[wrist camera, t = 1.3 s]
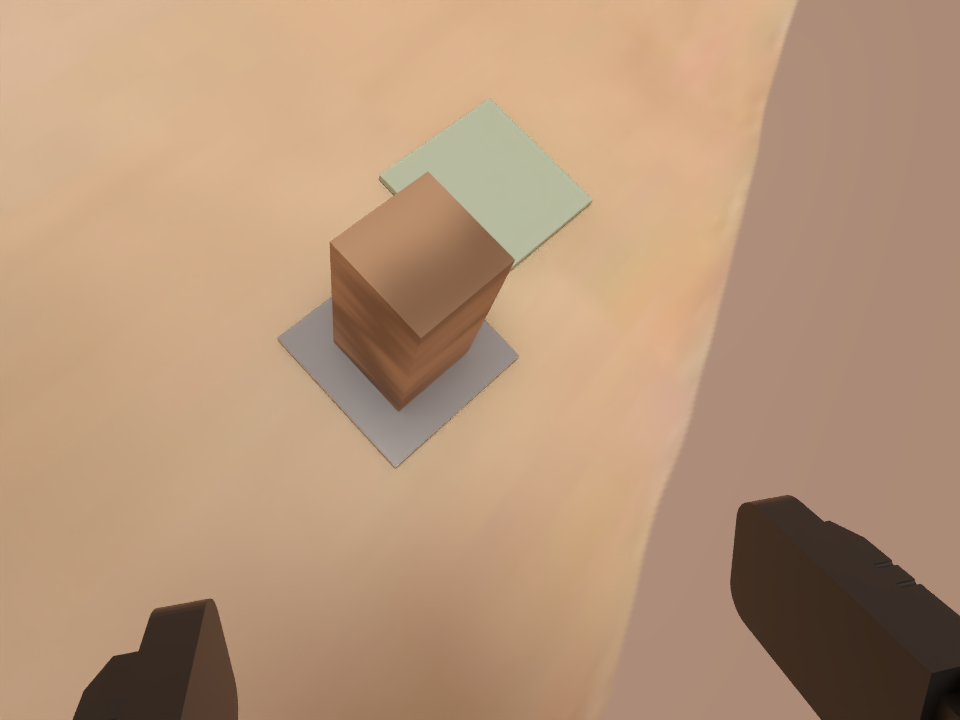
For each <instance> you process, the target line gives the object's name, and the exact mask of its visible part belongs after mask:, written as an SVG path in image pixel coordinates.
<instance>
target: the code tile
mask: <svg viewBox="0 0 960 720" xmlns="http://www.w3.org/2000/svg"><path fill="white" fill-rule="evenodd" d="M278 341H279V342H280V343H281V344H282V345H283V347H284V348H285V349H286V350H287V351H288V352H289V353H290V354H291V355H292V356H293V357H294V359H295V360H296V361H297V362H298V363H299V364H300V365H301V366H302V367H303V368H304V369H305V371H306V372H307V373H308V374H309V375H310V376H311V377H312V378H313V379H314V380H315V382H316V383H317V384H318V385H319V386H320V387H321V388H322V389H323V390H324V391H325V392H326V394H327V395H328V396H329V397H330V398H331V399H332V400H333V401H334V402H335V403H336V404H337V406H338V407H339V408H340V409H341V410H342V411H343V412H344V413H345V414H346V415H347V416H348V418H349V419H350V420H351V421H352V422H353V423H354V424H355V425H356V426H357V427H358V429H359V430H360V431H361V432H362V433H363V434H364V435H365V436H366V437H367V438H368V439H369V441H370V442H371V443H372V444H373V445H374V446H375V447H376V448H377V449H378V450H379V451H380V453H381V454H382V455H383V456H384V457H385V458H386V459H387V460H388V461H389V462H390V463H391V465H392V466H393V467H394V468H396V467H397V466H399V465H400V464H401V463H402V462H403V461H404V460H405V459H406V458H407V457H408V456H410V455H411V454H412V453H413V452H414V451H415V450H416V449H417V448H418V447H420V446H421V445H422V444H423V443H424V442H425V441H426V440H427V439H428V438H430V437H431V436H432V435H433V434H434V433H435V432H436V431H437V430H438V429H439V428H441V427H442V426H443V425H444V424H445V423H446V422H447V421H448V420H449V419H451V418H452V417H453V416H454V415H455V414H456V413H457V412H458V411H459V410H461V409H462V408H463V407H464V406H465V405H466V404H467V403H468V402H469V401H470V400H472V399H473V398H474V397H475V396H476V395H477V394H478V393H479V392H480V391H482V390H483V389H484V388H485V387H486V386H487V385H488V384H489V383H490V382H492V381H493V380H494V379H495V378H496V377H497V376H498V375H499V374H500V373H501V372H503V371H504V370H505V369H506V368H507V367H508V366H509V365H510V364H511V363H513V362H514V361H515V360H516V359H517V358H518V357H519V355H518V354H517V353H516V352H515V351H514V350H513V349H512V348H511V347H510V346H509V345H508V344H507V343H506V341H505V340H504V339H503V338H502V337H501V336H500V335H499V334H498V333H497V332H496V331H495V330H494V329H493V328H492V327H491V326H490V325H489V324H488V323H487V322H486V321H485V320H484V322H483V324H482V326H481V327H480V329H479V331H478V333H477V335H476V337H475V339H474V341H473V343H472V345H471V347H470V349H469V351H468V352H467V353H466V354H465V355H464V356H463V357H461V358H460V359H459V360H458V361H457V362H456V363H455V364H453V365H452V366H451V367H450V368H449V369H448V370H447V371H445V372H444V373H443V374H442V375H441V376H440V377H438V378H437V379H436V380H435V381H434V382H433V383H432V384H430V385H429V386H428V387H427V388H426V389H425V390H423V391H422V392H421V393H420V394H419V395H418V396H417V397H415V398H414V399H413V400H412V401H411V402H410V403H408V404H407V405H406V406H405V407H404V408H403V409H402V410H400V411H399V412H398V411H397V410H396V409H395V408H394V407H393V406H392V405H391V403H390V402H389V401H388V400H387V399H386V398H385V397H384V396H383V395H382V394H381V393H380V392H379V390H378V389H377V388H376V387H375V386H374V385H373V384H372V383H371V382H370V381H369V380H368V379H367V378H366V376H365V375H364V374H363V373H362V372H361V371H360V370H359V369H358V368H357V367H356V366H355V365H354V364H353V362H352V361H351V360H350V359H349V358H348V357H347V356H346V355H345V354H344V353H343V352H342V351H341V349H340V348H339V347H338V346H337V345H336V344H335V343H334V338H333V313H332V297H331V298H330V299H328V300H327V301H326V302H324V303H323V304H322V305H320V306H319V307H318V308H316V309H315V310H314V311H312V312H311V313H310V314H308V315H307V316H306V317H304V318H303V319H302V320H301V321H299V322H298V323H297V324H295V325H294V326H293V327H291V328H290V329H289V330H287V331H286V332H285V333H283V334H282V335H281V336H279V337H278Z"/></svg>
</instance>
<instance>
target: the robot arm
mask: <svg viewBox="0 0 960 720" xmlns="http://www.w3.org/2000/svg"><path fill="white" fill-rule="evenodd" d="M730 585H731V593H732V598H733V601H734V604H735V607H736V609H737V612H738V614H739V616H740V617H741V619H742V621H743V622H744V623H745V625H746V626H747V627H748V628H749V630H750V631H751V632H752V633H753V635H754V636H755V637H756V638H757V640H758V641H759V642H760V643H761V645H762V646H763V647H764V649H765V650H766V651H767V652H768V653H769V655H770V656H771V657H772V659H773V660H774V661H775V662H776V664H777V665H778V666H779V667H780V669H781V670H782V671H783V672H784V674H785V675H786V676H787V677H788V679H789V680H790V681H791V682H792V684H793V685H794V686H795V687H796V689H797V690H798V691H799V692H800V693H801V695H802V696H803V697H804V699H805V700H806V701H807V702H808V704H809V705H810V706H811V707H812V709H813V710H814V711H815V712H816V714H817V715H818V716H819V717H820V719H821V720H960V616H959V615H958V614H957V613H955V612H954V611H953V610H952V609H951V608H949V607H948V606H947V605H946V604H944V603H943V602H942V601H941V600H940V599H938V598H937V597H936V596H935V595H934V594H932V593H931V592H930V591H929V590H927V589H926V588H925V587H924V586H923V585H921V584H918V585H917V584H916V583H915V579H914V578H913V577H912V576H910V575H909V574H908V573H907V572H906V571H904V570H903V569H902V568H900V567H899V566H898V565H893V564H892V560H891V559H890V558H888V557H887V556H886V555H885V554H884V553H882V552H881V551H880V550H879V549H877V548H876V547H875V546H874V545H873V544H871V543H870V542H869V541H868V540H867V539H865V538H864V537H862V536H860V535H858V534H855V533H854V532H851V531H849V530H847V529H845V528H843V527H841V526H839V525H837V524H835V523H833V522H831V521H826V522H824V521H823V520H821V519H820V518H819V517H818V516H817V515H815V514H814V513H813V512H812V511H811V510H809V508H807V507H806V506H805V505H804V504H803V503H801V502H800V501H799V500H798V499H796V498H795V497H793V496H789V495H785V496H779V497H774V498H768V499H764V500H758V501H752V502H747V503H744V504H742V505H741V506H740V508H739V509H738V513H737V519H736V530H735V539H734V550H733V559H732V569H731V580H730ZM73 720H238V699H237V689H236V683H235V678H234V674H233V670H232V666H231V662H230V658H229V654H228V650H227V646H226V642H225V638H224V634H223V630H222V626H221V622H220V618H219V614H218V610H217V607H216V604H215V602H214V601H213V599H205V600H200V601H194V602H189V603H183V604H178V605H172V606H167V607H161V608H156V609H154V610H153V611H152V613H151V615H150V618H149V621H148V624H147V627H146V630H145V633H144V636H143V639H142V643H141V646H140V649H139V651H138V652H133V653H127V654H122V655H117V656H113V657H112V658H111V659H110V661H109V662H108V663H107V664H106V665H105V666H104V668H103V669H102V670H101V671H100V672H99V674H98V675H97V676H96V677H95V678H94V679H93V681H92V682H91V683H90V684H89V685H88V687H87V688H86V689H85V690H84V692H83V694H82V697H81V700H80V702H79V705H78V707H77V710H76V712H75V715H74V717H73Z"/></svg>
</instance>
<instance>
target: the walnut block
mask: <svg viewBox="0 0 960 720" xmlns="http://www.w3.org/2000/svg"><path fill="white" fill-rule="evenodd" d="M330 261H331V287H332V313H333V338H334V343H335V344H336V345H337V346H338V347H339V348H340V349H341V351H342V352H343V353H344V354H345V355H346V356H347V357H348V358H349V359H350V360H351V361H352V362H353V364H354V365H355V366H356V367H357V368H358V369H359V370H360V371H361V372H362V373H363V374H364V375H365V376H366V378H367V379H368V380H369V381H370V382H371V383H372V384H373V385H374V386H375V387H376V388H377V389H378V390H379V392H380V393H381V394H382V395H383V396H384V397H385V398H386V399H387V400H388V401H389V402H390V403H391V405H392V406H393V407H394V408H395V409H396V410H397V411H398V412H399V411H400V410H402V409H403V408H404V407H405V406H406V405H407V404H408V403H410V402H411V401H412V400H413V399H414V398H415V397H417V396H418V395H419V394H420V393H421V392H422V391H423V390H425V389H426V388H427V387H428V386H429V385H430V384H432V383H433V382H434V381H435V380H436V379H437V378H438V377H440V376H441V375H442V374H443V373H444V372H445V371H447V370H448V369H449V368H450V367H451V366H452V365H453V364H455V363H456V362H457V361H458V360H459V359H460V358H461V357H463V356H464V355H465V354H466V353H467V352H468V351H469V349H470V347H471V345H472V343H473V341H474V339H475V337H476V335H477V333H478V331H479V329H480V327H481V326H482V324H483V322H484V320H485V318H486V316H487V314H488V312H489V310H490V308H491V306H492V304H493V302H494V300H495V298H496V296H497V294H498V293H499V291H500V289H501V287H502V285H503V283H504V281H505V279H506V277H507V275H508V273H509V271H510V269H511V267H512V265H513V263H514V261H515V259H514V258H513V257H512V256H511V255H510V254H509V253H508V252H507V251H506V250H505V249H504V248H503V247H502V246H501V245H500V244H499V243H498V242H497V241H496V240H495V239H494V238H493V237H492V236H491V235H490V234H489V233H488V232H487V231H486V230H485V229H484V228H483V227H482V226H481V225H480V224H479V223H478V222H477V221H476V219H475V218H474V217H473V216H472V215H471V214H470V213H469V212H468V211H467V210H466V209H465V208H464V207H463V206H462V205H461V204H460V203H459V202H458V201H457V200H456V199H455V198H454V197H453V196H452V195H451V194H450V193H449V192H448V191H447V190H446V189H445V188H444V187H443V186H442V185H441V184H440V183H439V182H438V181H437V180H436V179H435V178H434V177H433V176H432V175H431V174H430V173H429V172H426V173H425V174H423V175H422V176H421V177H419V178H418V179H416V180H415V181H414V182H412V183H411V184H409V185H408V186H407V187H405V188H404V189H403V190H401V191H400V192H398V193H397V194H396V195H394V196H393V197H391V198H390V199H389V200H387V201H386V202H384V203H383V204H382V205H380V206H379V207H378V208H376V209H375V210H373V211H372V212H371V213H369V214H368V215H366V216H365V217H364V218H362V219H361V220H359V221H358V222H357V223H355V224H354V225H352V226H351V227H350V228H348V229H347V230H346V231H344V232H343V233H341V234H340V235H339V236H337V237H336V238H334V239H333V240H332V241H330Z"/></svg>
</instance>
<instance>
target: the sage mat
mask: <svg viewBox="0 0 960 720" xmlns="http://www.w3.org/2000/svg"><path fill="white" fill-rule="evenodd" d="M426 172H429V173H430V174H431V175H432V176H433V177H434V178H435V179H436V180H437V181H438V182H439V183H440V184H441V185H442V186H443V187H444V188H445V189H446V190H447V191H448V192H449V193H450V194H451V195H452V196H453V197H454V198H455V199H456V200H457V201H458V202H459V203H460V204H461V205H462V206H463V207H464V208H465V209H466V210H467V211H468V212H469V213H470V214H471V215H472V216H473V217H474V218H475V219H476V221H477V222H478V223H479V224H480V225H481V226H482V227H483V228H484V229H485V230H486V231H487V232H488V233H489V234H490V235H491V236H492V237H493V238H494V239H495V240H496V241H497V242H498V243H499V244H500V245H501V246H502V247H503V248H504V249H505V250H506V251H507V252H508V253H509V254H510V255H511V256H512V257H513V258H514V259H515V261H514V263H513V265H512V267H511V269H510V270H512V269H513V268H514V267H515V266H516V265H518V264H519V263H520V262H521V261H522V260H524V259H525V258H526V257H527V256H528V255H530V254H531V253H532V252H533V251H534V250H536V249H537V248H538V247H539V246H540V245H542V244H543V243H544V242H545V241H546V240H548V239H549V238H550V237H551V236H552V235H554V234H555V233H556V232H557V231H558V230H560V229H561V228H562V227H563V226H564V225H565V224H567V223H568V222H569V221H570V220H571V219H573V218H574V217H575V216H576V215H577V214H579V213H580V212H581V211H582V210H583V209H585V208H586V207H587V206H588V205H589V204H590V203H591V202H592V200H593V199H592V198H591V197H590V196H589V195H588V194H587V193H586V192H585V191H584V190H583V189H582V188H581V187H580V186H579V185H578V184H577V183H576V182H575V181H574V180H573V179H572V178H571V177H570V176H569V175H568V174H567V173H566V172H565V171H564V170H563V169H562V168H561V167H560V166H558V165H557V164H556V163H555V162H554V161H553V160H552V159H551V158H550V157H549V156H548V155H547V154H546V153H545V152H544V151H543V150H542V149H541V148H540V147H539V146H538V145H537V144H536V143H535V142H534V141H533V140H532V139H531V138H530V137H529V136H528V135H527V134H526V133H525V132H524V131H523V130H522V129H521V128H520V127H519V126H518V125H517V124H516V123H515V122H514V121H513V120H512V119H511V118H510V117H509V116H508V115H507V114H506V113H505V112H504V111H503V110H502V109H501V108H500V107H499V106H498V105H497V104H496V103H495V102H494V101H493V100H492V99H491V98H489V99H488V100H486V101H485V102H483V103H482V104H481V105H479V106H478V107H476V108H475V109H473V110H472V111H471V112H469V113H468V114H466V115H465V116H463V117H462V118H460V119H459V120H458V121H456V122H455V123H453V124H452V125H450V126H449V127H448V128H446V129H445V130H443V131H442V132H440V133H439V134H438V135H436V136H435V137H433V138H432V139H430V140H429V141H428V142H426V143H425V144H423V145H422V146H420V147H419V148H418V149H416V150H415V151H413V152H412V153H410V154H409V155H408V156H406V157H405V158H403V159H402V160H400V161H399V162H398V163H396V164H395V165H393V166H392V167H390V168H389V169H387V170H386V171H385V172H383V173H382V174H380V177H379V180H380V181H381V182H382V183H383V184H384V185H385V186H386V187H387V188H388V189H389V190H390V191H391V193H392V194H393V195H396V194H397V193H398V192H400V191H401V190H403V189H404V188H405V187H407V186H408V185H409V184H411V183H412V182H414V181H415V180H416V179H418V178H419V177H421V176H422V175H423V174H425V173H426Z"/></svg>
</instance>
